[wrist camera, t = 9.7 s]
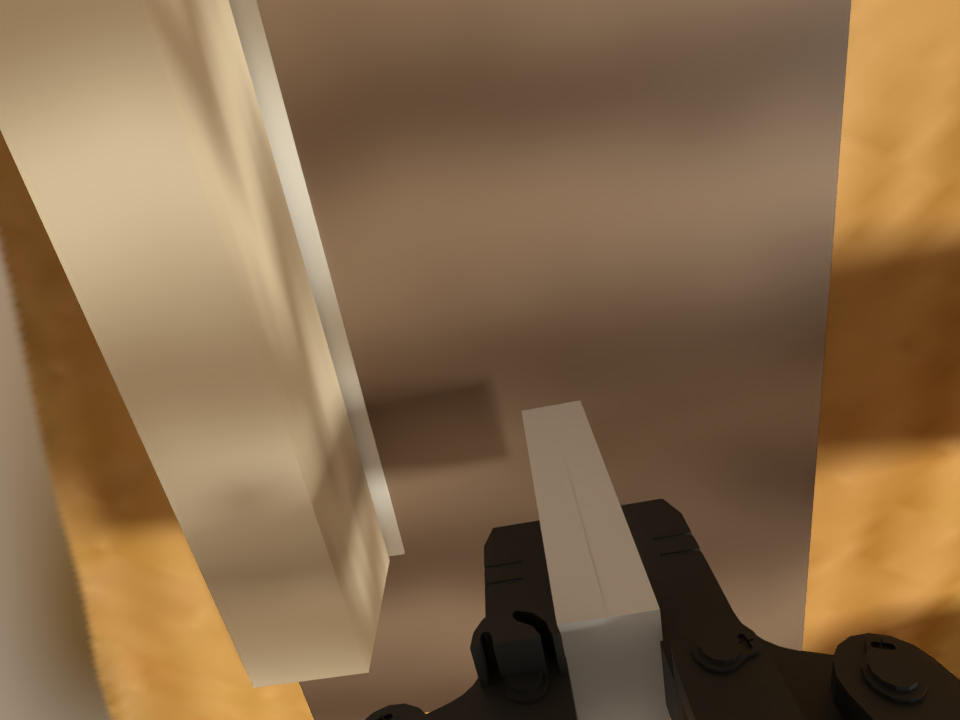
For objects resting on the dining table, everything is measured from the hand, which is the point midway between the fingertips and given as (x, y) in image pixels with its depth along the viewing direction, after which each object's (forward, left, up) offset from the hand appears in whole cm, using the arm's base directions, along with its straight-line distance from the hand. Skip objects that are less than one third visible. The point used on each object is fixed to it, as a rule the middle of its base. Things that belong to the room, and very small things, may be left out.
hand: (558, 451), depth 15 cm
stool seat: (-2, -1, -5) cm, 6 cm away
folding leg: (-4, -7, -2) cm, 9 cm away
